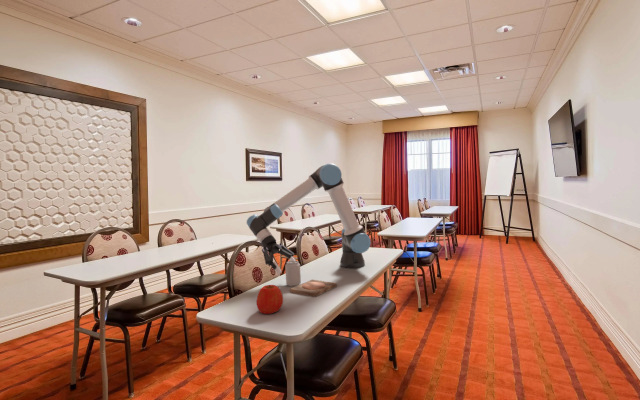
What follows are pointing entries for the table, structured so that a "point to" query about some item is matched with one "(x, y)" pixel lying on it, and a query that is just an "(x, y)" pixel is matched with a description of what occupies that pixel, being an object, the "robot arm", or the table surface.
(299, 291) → the board
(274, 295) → the apple
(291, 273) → the can
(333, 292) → the table surface
